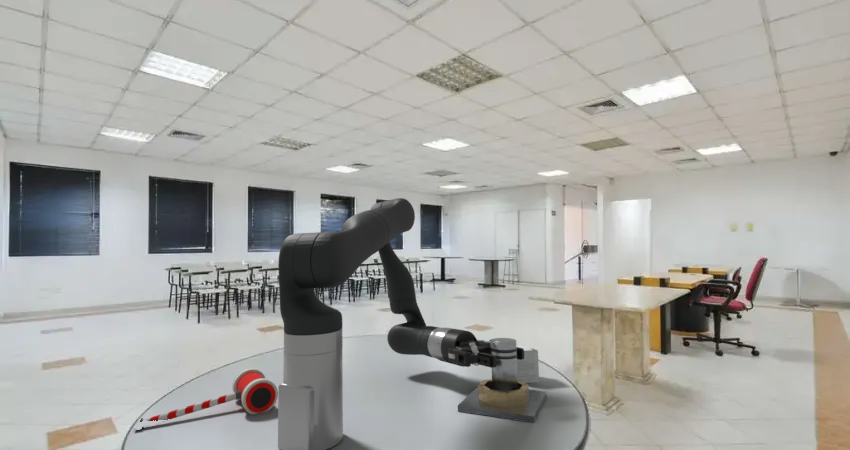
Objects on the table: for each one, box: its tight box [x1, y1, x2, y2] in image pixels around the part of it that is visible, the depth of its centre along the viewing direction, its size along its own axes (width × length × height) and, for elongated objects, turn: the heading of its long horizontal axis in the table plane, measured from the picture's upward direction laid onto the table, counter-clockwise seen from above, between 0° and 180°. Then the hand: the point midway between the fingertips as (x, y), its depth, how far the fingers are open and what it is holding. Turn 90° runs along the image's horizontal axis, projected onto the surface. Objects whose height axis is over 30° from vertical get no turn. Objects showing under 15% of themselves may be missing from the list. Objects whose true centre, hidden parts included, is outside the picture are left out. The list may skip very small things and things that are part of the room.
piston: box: [490, 337, 518, 391], centre depth 78 cm, size 5×5×11 cm
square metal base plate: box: [457, 378, 547, 423], centre depth 77 cm, size 14×14×4 cm
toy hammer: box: [140, 367, 278, 422], centre depth 75 cm, size 23×12×6 cm, turn 125°
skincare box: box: [516, 344, 540, 384], centre depth 92 cm, size 6×6×7 cm
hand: (509, 358), depth 76 cm, fingers open, 8 cm apart
